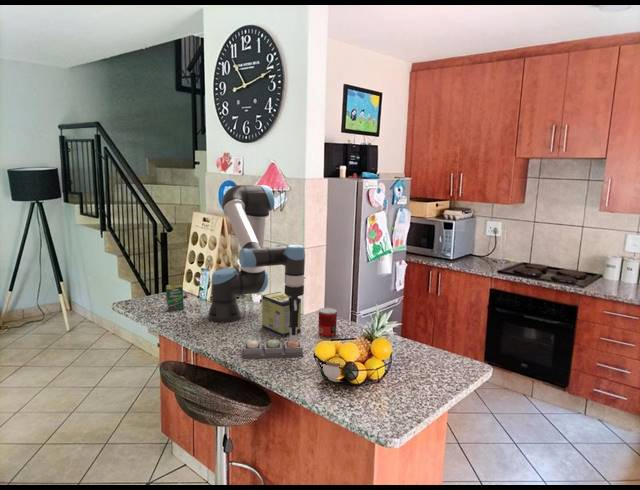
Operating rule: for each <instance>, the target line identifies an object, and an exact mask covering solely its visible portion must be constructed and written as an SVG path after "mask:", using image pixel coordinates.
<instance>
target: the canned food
mask: <svg viewBox="0 0 640 490" xmlns="http://www.w3.org/2000/svg"><path fill="white" fill-rule="evenodd" d="M337 314H338V311H337V309H335V308H332V307H322V308H319V309H318V328H317V329H318V335H319V336H321V337H324V338H330V337H334V336H336V335H337V319H338V315H337Z"/></svg>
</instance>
